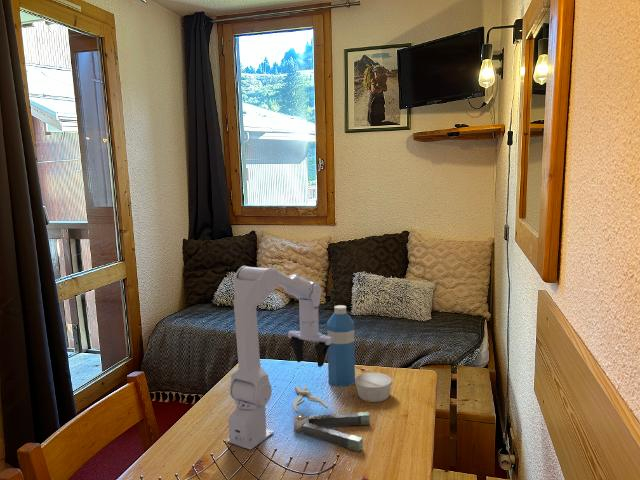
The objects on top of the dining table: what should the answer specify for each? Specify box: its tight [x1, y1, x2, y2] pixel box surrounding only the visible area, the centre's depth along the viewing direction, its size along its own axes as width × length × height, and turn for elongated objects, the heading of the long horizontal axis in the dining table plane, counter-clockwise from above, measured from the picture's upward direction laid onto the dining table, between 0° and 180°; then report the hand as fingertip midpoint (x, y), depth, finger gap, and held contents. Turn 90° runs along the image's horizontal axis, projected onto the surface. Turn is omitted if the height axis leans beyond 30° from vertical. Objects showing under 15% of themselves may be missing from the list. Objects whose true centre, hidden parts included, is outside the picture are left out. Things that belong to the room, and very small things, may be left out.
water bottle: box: [326, 304, 356, 387], centre depth 156 cm, size 9×9×25 cm
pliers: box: [292, 384, 328, 413], centre depth 145 cm, size 10×2×15 cm
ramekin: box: [354, 372, 393, 403], centre depth 146 cm, size 11×11×5 cm
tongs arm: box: [307, 411, 371, 428], centre depth 128 cm, size 2×16×3 cm, turn 93°
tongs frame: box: [293, 413, 364, 453], centre depth 122 cm, size 4×20×4 cm, turn 58°
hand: (310, 363), depth 146 cm, fingers open, 7 cm apart
